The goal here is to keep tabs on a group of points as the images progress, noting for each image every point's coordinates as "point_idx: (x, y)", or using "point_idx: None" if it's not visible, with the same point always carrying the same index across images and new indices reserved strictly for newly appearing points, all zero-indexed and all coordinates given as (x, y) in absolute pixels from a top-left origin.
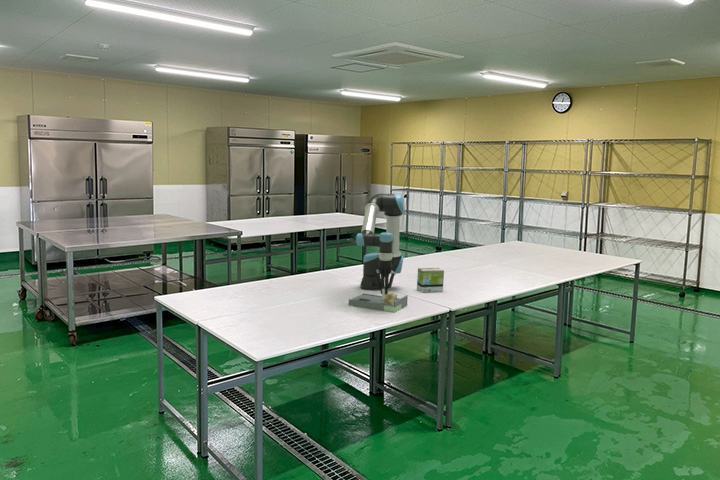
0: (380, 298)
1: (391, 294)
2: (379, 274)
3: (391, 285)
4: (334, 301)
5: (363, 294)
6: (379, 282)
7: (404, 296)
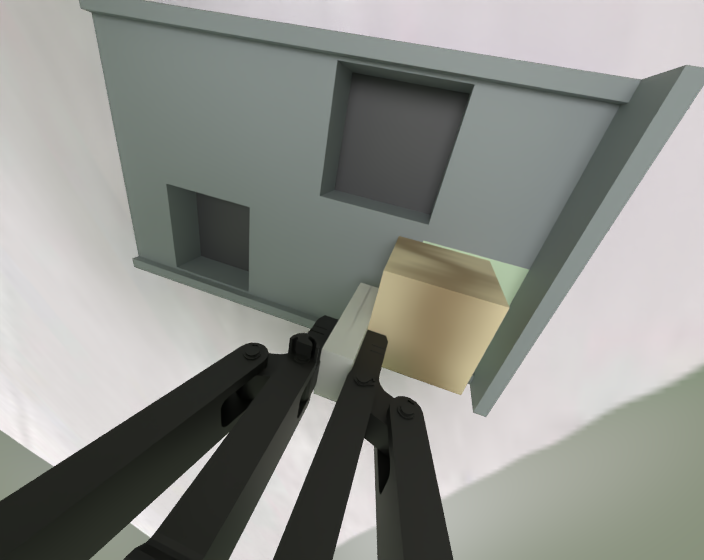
0: (300, 119)
1: (435, 345)
2: (13, 553)
3: (427, 447)
4: (67, 187)
5: (103, 13)
6: (217, 433)
7: (628, 166)
